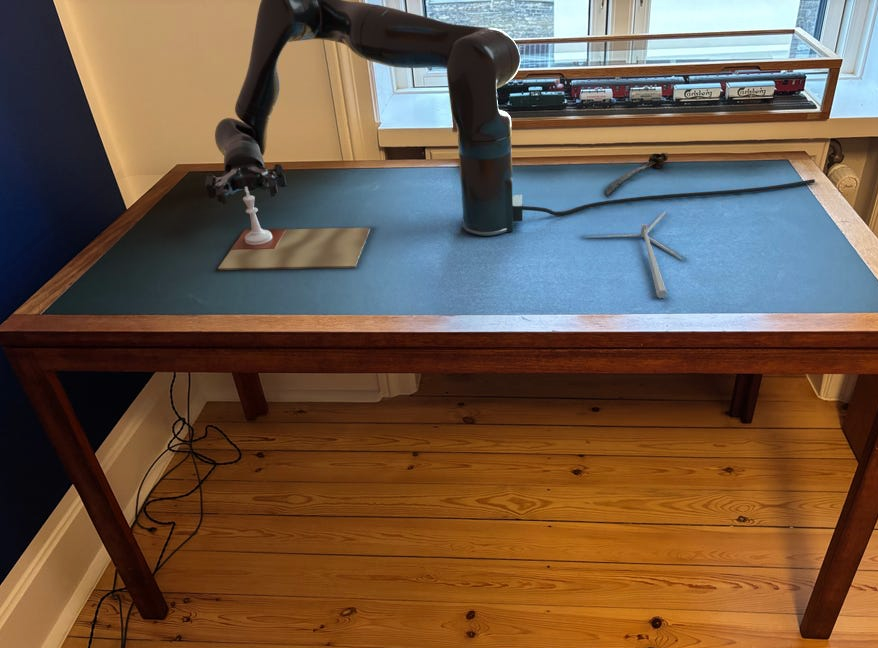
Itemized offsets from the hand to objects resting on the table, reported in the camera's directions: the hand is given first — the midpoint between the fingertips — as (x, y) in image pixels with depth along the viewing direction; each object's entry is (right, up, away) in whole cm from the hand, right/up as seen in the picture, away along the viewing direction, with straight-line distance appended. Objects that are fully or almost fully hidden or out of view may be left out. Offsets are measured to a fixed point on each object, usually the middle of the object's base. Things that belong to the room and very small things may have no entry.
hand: (247, 195), depth 129 cm
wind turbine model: (+68, -12, -7) cm, 69 cm away
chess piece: (+1, -7, +3) cm, 8 cm away
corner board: (+9, -10, 0) cm, 13 cm away
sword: (+74, +8, +20) cm, 77 cm away
